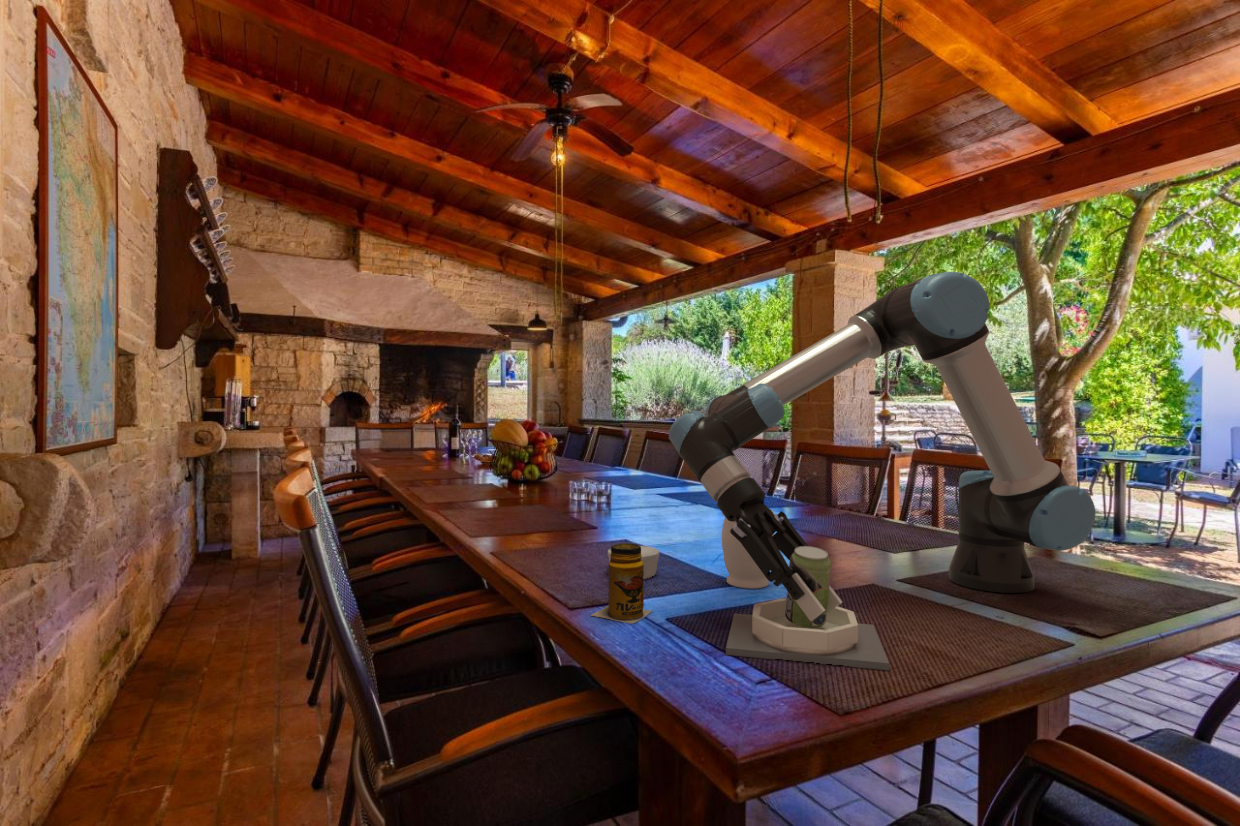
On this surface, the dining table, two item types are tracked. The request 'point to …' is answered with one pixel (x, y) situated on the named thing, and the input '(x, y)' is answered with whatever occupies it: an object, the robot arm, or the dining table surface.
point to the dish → (804, 630)
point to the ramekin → (647, 560)
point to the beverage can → (809, 584)
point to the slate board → (860, 656)
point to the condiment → (625, 585)
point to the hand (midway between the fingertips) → (826, 611)
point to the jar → (740, 561)
